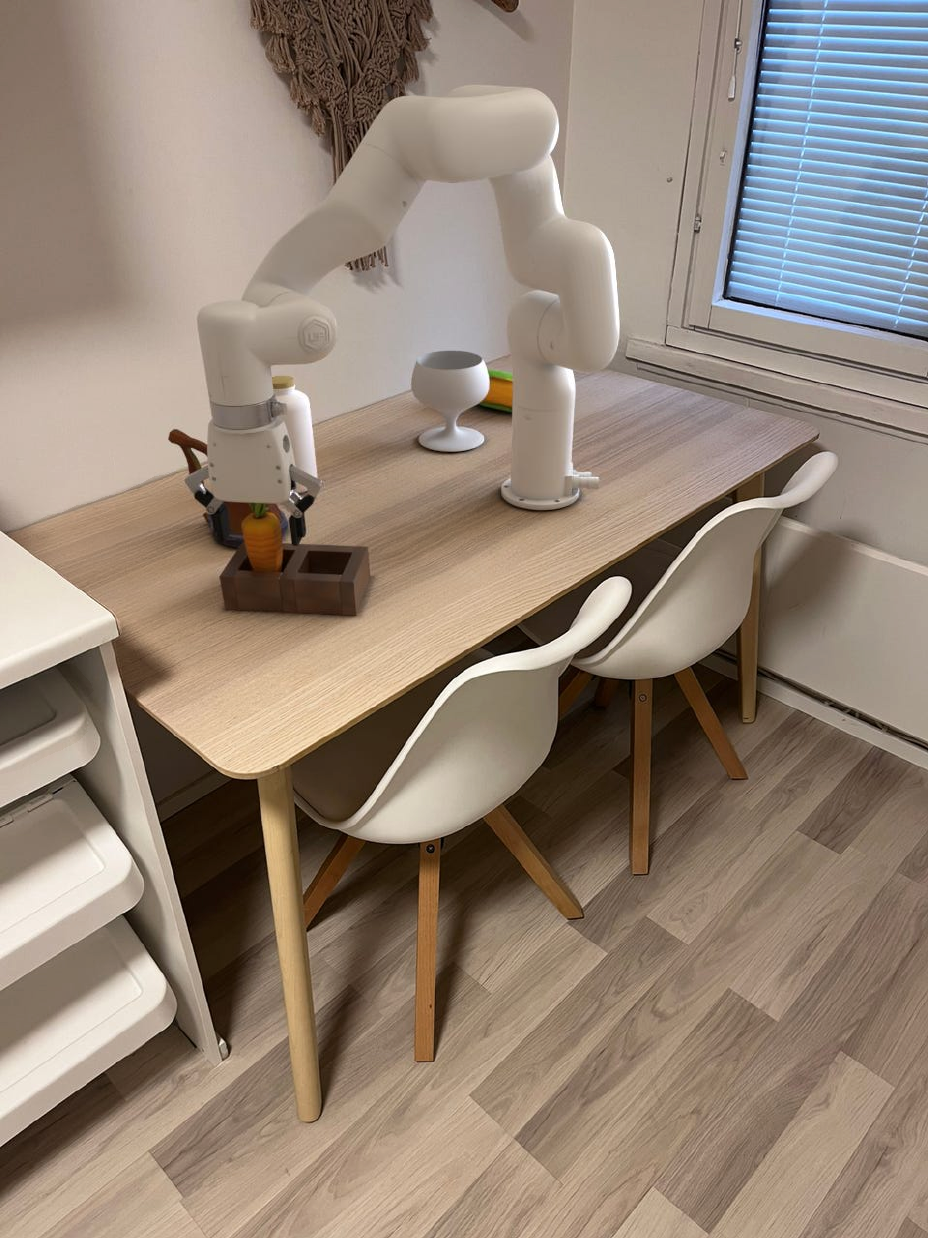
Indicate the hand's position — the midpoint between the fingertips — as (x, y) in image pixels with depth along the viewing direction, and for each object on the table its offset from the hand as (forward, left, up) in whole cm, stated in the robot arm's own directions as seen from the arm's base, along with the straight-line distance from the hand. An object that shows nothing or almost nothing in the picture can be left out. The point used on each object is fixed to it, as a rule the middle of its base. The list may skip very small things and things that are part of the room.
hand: (261, 539), depth 116 cm
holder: (-4, 0, -8) cm, 9 cm away
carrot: (0, 0, -8) cm, 8 cm away
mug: (+11, -18, -8) cm, 23 cm away
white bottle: (+6, -34, -8) cm, 36 cm away
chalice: (-18, -56, -8) cm, 60 cm away
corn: (-27, -74, -8) cm, 79 cm away
